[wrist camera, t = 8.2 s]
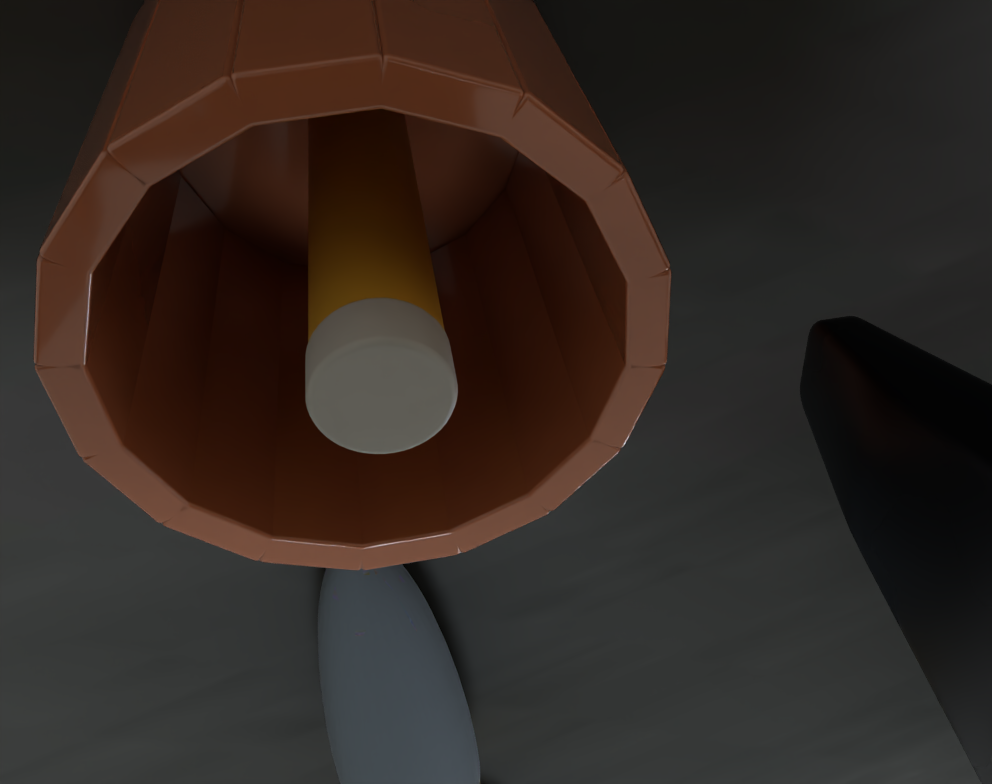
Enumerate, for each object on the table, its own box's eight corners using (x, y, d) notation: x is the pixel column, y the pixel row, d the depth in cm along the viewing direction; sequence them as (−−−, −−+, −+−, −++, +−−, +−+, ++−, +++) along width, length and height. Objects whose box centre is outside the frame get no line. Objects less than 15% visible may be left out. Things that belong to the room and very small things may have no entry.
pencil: (398, 61, 15) (450, 329, 9) (411, 155, 16) (466, 444, 10) (296, 75, 14) (290, 353, 9) (317, 168, 15) (321, 467, 10)
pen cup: (538, -151, 14) (686, 12, 8) (555, 246, 18) (660, 522, 13) (67, -94, 13) (-95, 118, 8) (201, 299, 17) (154, 607, 12)
